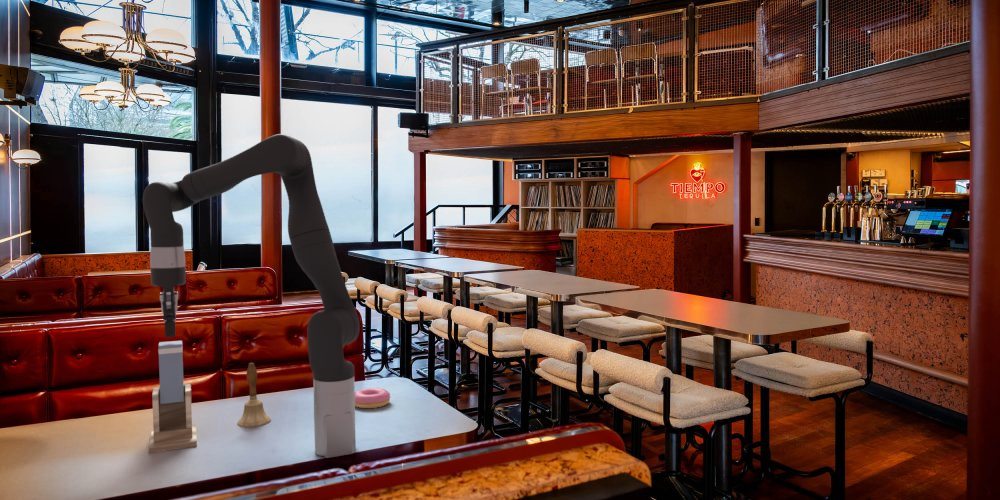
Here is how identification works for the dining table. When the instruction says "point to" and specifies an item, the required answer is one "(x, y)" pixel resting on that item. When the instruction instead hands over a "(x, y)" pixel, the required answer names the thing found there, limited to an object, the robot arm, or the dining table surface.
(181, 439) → the tan frame
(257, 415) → the hand bell
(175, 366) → the block
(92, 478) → the dining table surface
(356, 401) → the doughnut
